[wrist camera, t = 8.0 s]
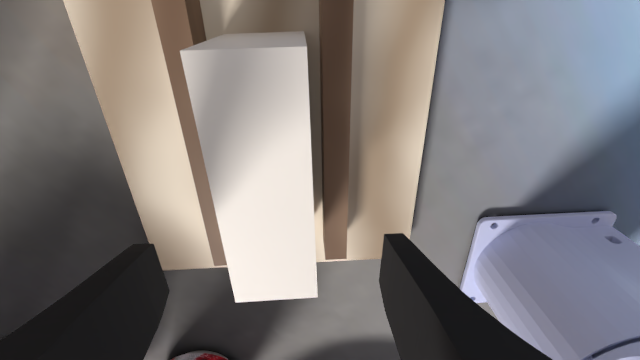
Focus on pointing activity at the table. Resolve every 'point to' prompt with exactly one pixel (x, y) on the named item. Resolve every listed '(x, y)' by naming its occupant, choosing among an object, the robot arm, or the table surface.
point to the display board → (324, 100)
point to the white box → (258, 158)
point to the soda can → (201, 356)
